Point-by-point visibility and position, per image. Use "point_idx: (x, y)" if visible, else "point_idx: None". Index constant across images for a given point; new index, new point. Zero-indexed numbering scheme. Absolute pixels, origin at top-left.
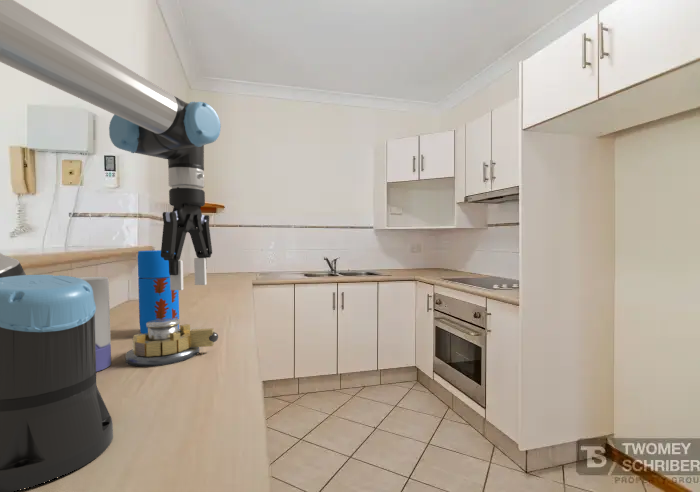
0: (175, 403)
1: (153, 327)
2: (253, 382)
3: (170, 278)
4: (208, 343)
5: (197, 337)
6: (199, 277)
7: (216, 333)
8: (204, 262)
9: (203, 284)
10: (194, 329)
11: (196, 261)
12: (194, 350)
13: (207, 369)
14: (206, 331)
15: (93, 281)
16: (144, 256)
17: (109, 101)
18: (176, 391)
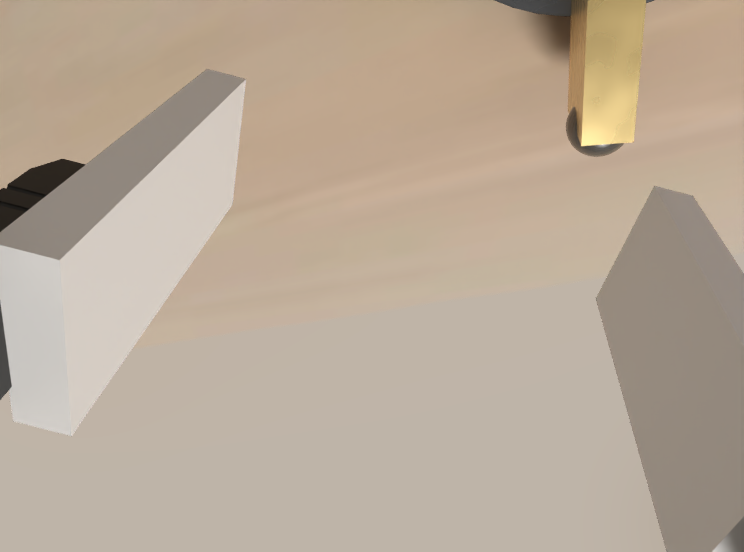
0: (15, 141)
1: None
2: (204, 329)
3: (147, 120)
4: (571, 93)
5: (579, 36)
6: (645, 294)
7: (601, 153)
8: (663, 521)
9: (603, 288)
10: (636, 8)
11: (740, 433)
12: (535, 12)
13: (321, 146)
14: (583, 107)
15: None
16: None
17: None
18: (96, 105)
